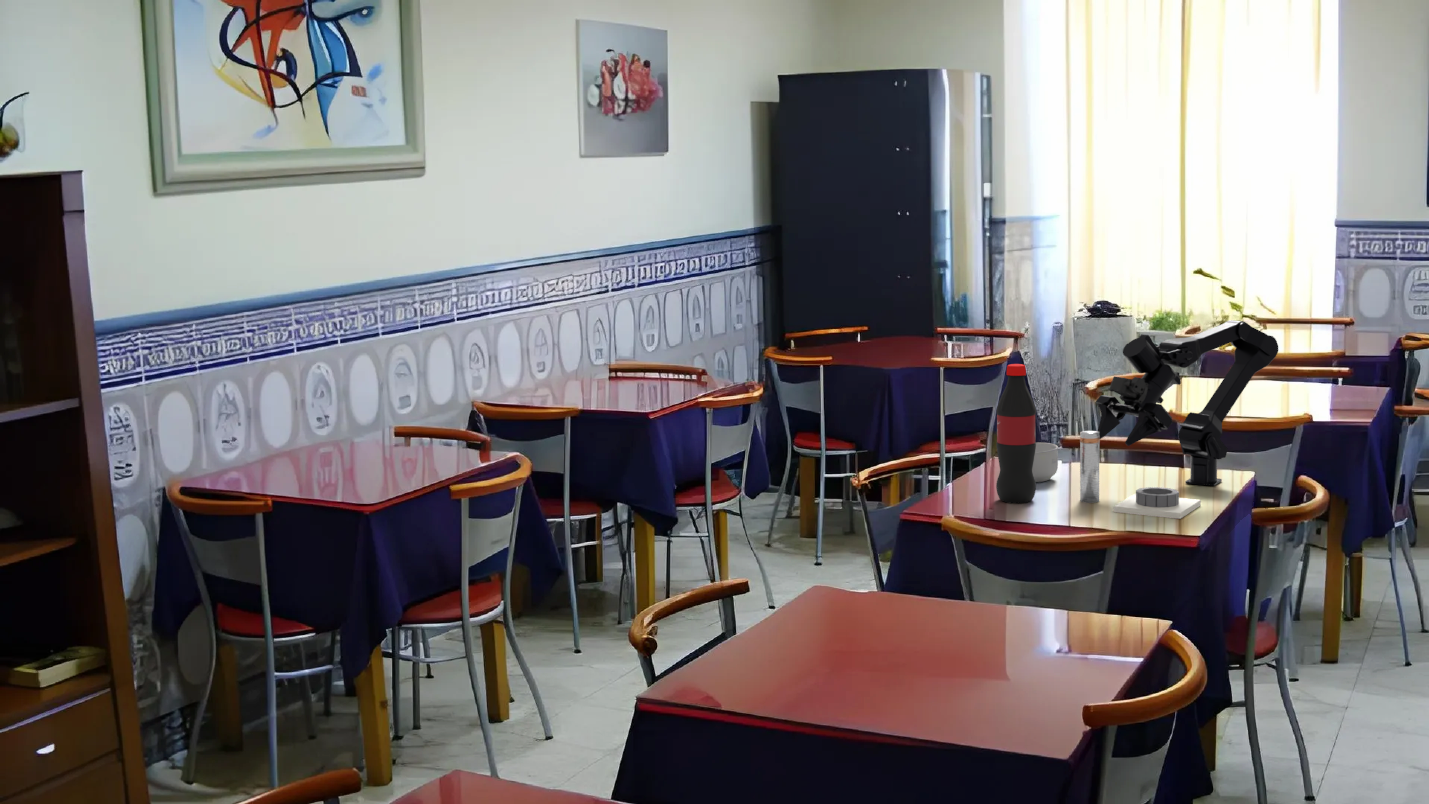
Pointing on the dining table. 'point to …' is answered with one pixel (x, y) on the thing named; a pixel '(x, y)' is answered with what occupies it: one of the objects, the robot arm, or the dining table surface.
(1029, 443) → the cola bottle
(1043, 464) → the teacup
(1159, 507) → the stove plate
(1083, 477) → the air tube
